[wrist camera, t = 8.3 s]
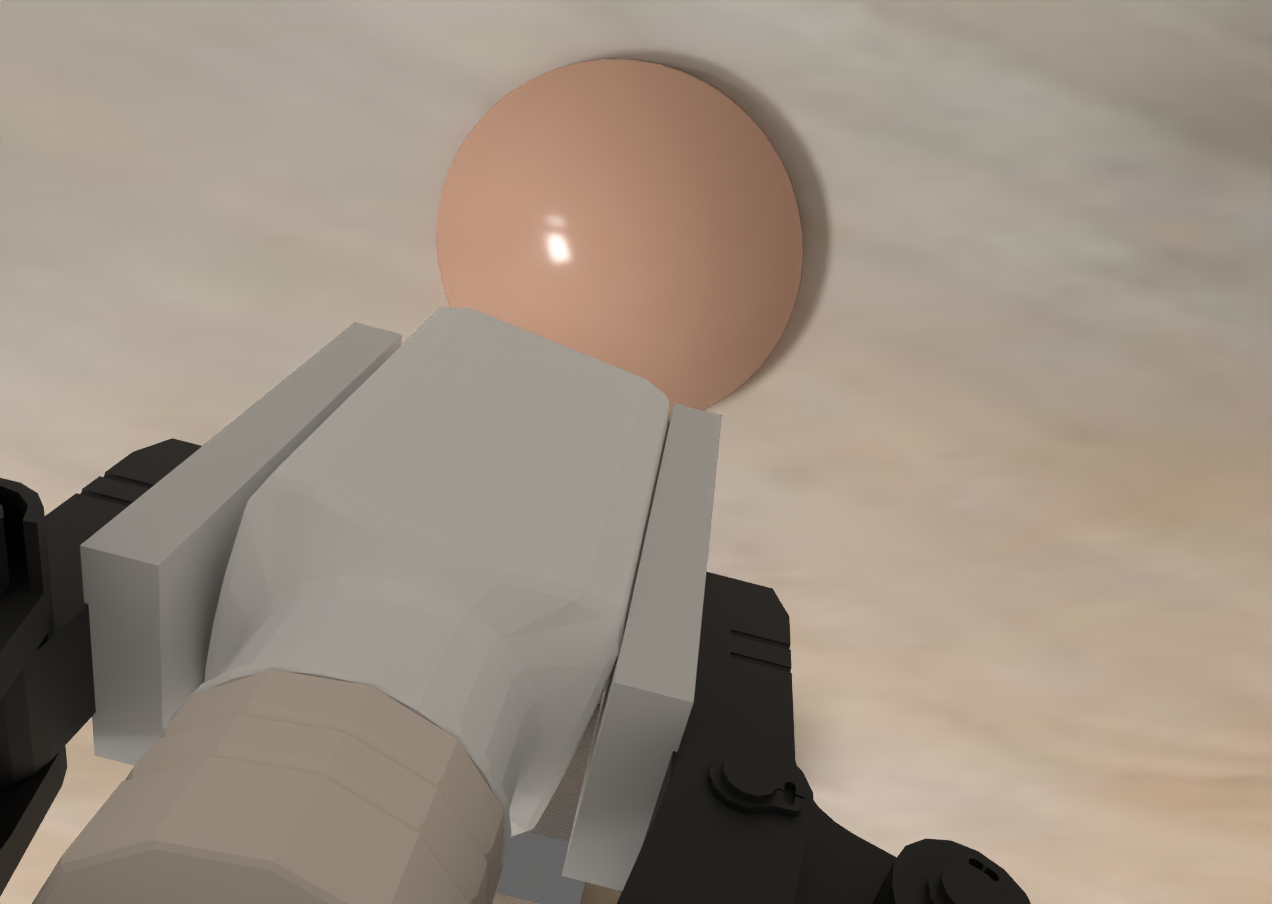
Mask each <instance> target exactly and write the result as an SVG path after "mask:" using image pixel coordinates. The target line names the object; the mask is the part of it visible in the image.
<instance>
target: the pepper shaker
mask: <svg viewBox="0 0 1272 904" xmlns="http://www.w3.org/2000/svg"><path fill="white" fill-rule="evenodd" d="M668 428H669V399H668V398H667V397H666V395H665V394H664V393H663V392H662V391H660V390H659V389H658V388H657V387H655V386H654V385H653V384H652V383H650V382H649V381H648V380H647V379H645V378H642V377H640V376H637V375H635V374H633V373H630V372H628V371H625V370H623V369H620V368H618V367H615V366H613V365H610V364H608V363H605V362H603V361H601V360H598V359H596V358H593V357H591V356H588V355H586V354H583V353H581V352H578V351H576V350H573V349H571V348H568V347H566V346H564V345H561V344H559V343H556V342H554V341H551V340H549V339H546V338H544V337H541V336H539V335H536V334H534V333H531V332H529V331H527V330H524V329H522V328H519V327H517V326H514V325H512V324H509V323H507V322H504V321H502V320H499V319H497V318H494V317H492V316H489V315H487V314H485V313H482V312H480V311H477V310H475V309H472V308H454V307H440V308H439V309H438V310H437V311H436V312H435V313H434V314H433V315H432V316H431V317H430V318H429V319H428V320H427V321H426V322H425V323H424V324H423V325H422V326H421V327H420V328H419V329H418V330H417V331H416V332H415V333H414V334H413V335H412V336H411V337H410V338H409V339H408V340H407V341H406V342H405V343H404V344H403V345H401V346H400V347H399V348H398V349H397V350H396V351H395V352H394V353H393V354H392V355H391V356H390V357H389V358H388V359H387V360H386V361H385V362H384V363H383V364H382V365H381V366H380V367H379V368H378V369H377V370H376V371H375V372H374V373H373V374H372V375H371V376H370V377H369V378H368V379H367V380H366V381H365V382H364V383H363V384H362V385H361V386H360V387H359V388H358V389H357V390H356V391H355V392H354V393H353V394H352V395H351V396H350V397H349V398H348V399H347V400H346V401H345V402H344V403H343V404H342V405H341V406H340V407H339V408H338V409H336V410H335V411H334V412H333V413H332V414H331V415H330V416H329V417H328V418H327V419H326V420H325V421H324V422H323V423H322V424H321V425H320V426H319V427H318V428H317V429H316V430H315V431H314V432H313V433H312V434H311V435H310V436H309V437H308V438H307V439H306V440H305V441H304V442H303V443H302V444H301V445H300V446H299V447H298V448H297V449H296V450H295V451H294V452H293V453H292V454H291V455H290V456H289V457H288V458H287V459H286V460H285V461H284V462H283V463H282V464H281V465H280V466H279V467H278V468H277V469H276V470H275V471H274V472H273V473H272V474H271V475H270V477H269V478H268V479H267V480H266V481H265V482H264V483H263V484H262V485H261V486H260V488H259V489H258V490H257V491H256V492H255V493H254V494H253V495H252V496H251V497H250V499H249V500H248V502H247V505H246V507H245V510H244V513H243V516H242V520H241V523H240V526H239V530H238V533H237V536H236V539H235V543H234V546H233V549H232V552H231V556H230V559H229V562H228V566H227V569H226V572H225V576H224V580H223V584H222V589H221V593H220V597H219V601H218V606H217V610H216V614H215V618H214V623H213V627H212V633H211V639H210V644H209V650H208V656H207V662H206V668H205V681H204V683H202V684H201V685H200V686H199V687H198V688H197V689H196V690H195V691H194V692H193V693H192V694H191V695H190V696H189V697H188V698H187V699H186V700H185V701H184V702H183V703H182V704H181V705H180V706H179V708H178V709H177V710H176V711H175V712H174V713H173V715H172V716H171V718H170V721H169V723H168V726H167V727H166V728H165V730H164V731H163V733H162V734H161V736H160V737H159V739H158V740H155V742H154V743H153V744H152V745H151V747H150V748H149V749H148V750H147V752H146V753H145V754H144V755H143V756H142V758H141V759H140V760H139V761H138V763H137V764H136V765H135V766H134V768H133V769H132V771H131V772H130V774H129V775H128V777H127V778H126V780H125V781H123V782H121V784H120V785H119V786H118V787H117V789H116V790H115V791H114V792H113V794H112V795H111V796H110V797H109V798H108V800H107V801H106V802H105V803H104V805H103V806H102V807H101V808H100V810H99V811H98V812H97V813H96V814H95V816H94V817H93V818H92V819H91V821H90V822H89V823H88V824H87V826H86V827H85V828H84V829H83V831H82V832H81V833H80V834H79V835H78V837H77V838H76V839H75V840H74V842H73V843H72V844H71V845H70V847H69V848H68V849H67V850H66V852H65V853H64V854H63V855H62V857H61V858H60V860H59V862H58V863H57V865H56V866H55V868H54V870H53V871H52V873H51V874H50V876H49V877H48V879H47V881H46V882H45V884H44V885H43V887H42V888H41V890H40V892H39V893H38V895H37V896H36V898H35V900H34V901H33V903H32V904H492V903H493V899H494V896H495V893H496V889H497V886H498V882H499V879H500V873H501V872H502V868H503V865H504V861H505V857H506V853H507V849H508V845H509V841H510V837H512V836H515V835H518V834H521V833H523V832H526V831H529V830H531V829H534V827H535V826H536V824H537V823H538V821H539V819H540V817H541V816H542V814H543V812H544V810H545V809H546V807H547V805H548V803H549V801H550V800H551V798H552V796H553V794H554V793H555V791H556V789H557V787H558V785H559V783H560V781H561V779H562V777H563V775H564V773H565V771H566V770H567V768H568V766H569V764H570V762H571V760H572V758H573V756H574V754H575V752H576V750H577V748H578V745H579V743H580V741H581V739H582V737H583V735H584V733H585V730H586V728H587V726H588V724H589V722H590V720H591V718H592V715H593V713H594V711H595V709H596V707H597V705H598V702H599V700H600V698H601V695H602V693H603V691H604V688H605V686H606V684H607V682H608V679H609V677H610V675H611V672H612V670H613V668H614V666H615V663H616V661H617V658H618V655H619V652H620V648H621V644H622V639H623V635H624V631H625V626H626V622H627V617H628V612H629V608H630V603H631V599H632V594H633V589H634V585H635V580H636V576H637V571H638V566H639V562H640V557H641V552H642V548H643V543H644V539H645V534H646V529H647V525H648V520H649V516H650V511H651V506H652V502H653V497H654V492H655V488H656V483H657V479H658V474H659V469H660V465H661V460H662V456H663V451H664V446H665V442H666V437H667V433H668Z"/></svg>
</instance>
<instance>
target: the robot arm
mask: <svg viewBox="0 0 1272 904" xmlns="http://www.w3.org/2000/svg"><path fill="white" fill-rule="evenodd" d="M401 337H402V334H398V333H394V332H390V331H386V330H382V329H379V328H375V327H371V326H367V325H363V324H359V323H354V324H352V325H351V326H350V327H349V328H347V329H346V330H345V331H344V332H343V333H341V334H340V335H339V336H338V337H336V338H335V339H334V340H333V341H331V342H330V343H329V344H328V345H327V346H325V347H324V348H323V349H322V350H320V351H319V352H318V353H317V354H315V355H314V356H313V357H312V358H310V359H309V360H308V361H307V362H306V363H304V364H303V365H302V366H301V367H299V368H298V369H297V370H296V371H294V372H293V373H292V374H291V375H290V376H288V377H287V378H286V379H285V380H283V381H282V382H281V383H280V384H278V385H277V386H276V387H275V388H274V389H272V390H271V391H270V392H269V393H267V394H266V395H265V396H264V397H262V398H261V399H260V400H259V401H257V402H256V403H255V404H254V405H253V406H251V407H250V408H249V409H248V410H246V411H245V412H244V413H243V414H241V415H240V416H239V417H238V418H237V419H235V420H234V421H233V422H232V423H230V424H229V425H228V426H227V427H225V428H224V429H223V430H222V431H221V432H219V433H218V434H217V435H216V436H214V437H213V438H212V439H211V440H209V441H208V442H207V443H206V444H204V445H203V446H200V445H196V444H192V443H188V442H184V441H180V440H176V439H169V440H166V441H163V442H160V443H158V444H155V445H152V446H149V447H146V448H143V449H140V450H137V451H134V452H132V453H131V454H130V455H128V456H127V457H125V458H124V459H123V460H121V461H120V462H119V463H117V464H116V465H114V466H113V467H112V468H110V469H109V470H108V471H106V472H105V475H104V477H100V476H99V477H98V478H97V479H95V480H94V481H93V482H91V483H90V484H88V485H87V486H86V487H84V488H83V489H82V492H81V494H77V493H76V494H75V495H73V496H72V497H71V498H69V499H68V500H67V501H65V502H64V503H62V504H61V505H60V506H58V507H57V508H56V509H54V510H53V511H52V512H50V513H49V514H47V515H46V516H44V507H43V505H42V502H41V500H40V498H39V495H38V493H36V492H35V491H33V490H31V489H30V488H28V487H27V486H25V485H23V484H22V483H19V482H15V481H11V480H7V479H3V478H0V896H1V894H2V893H3V891H4V889H5V887H6V885H7V884H8V882H9V880H10V878H11V876H12V875H13V873H14V871H15V869H16V867H17V866H18V864H19V862H20V860H21V858H22V857H23V855H24V853H25V851H26V849H27V848H28V846H29V844H30V842H31V840H32V839H33V837H34V835H35V833H36V831H37V830H38V828H39V826H40V824H41V822H42V821H43V819H44V817H45V815H46V813H47V812H48V810H49V808H50V806H51V804H52V803H53V801H54V799H55V797H56V795H57V794H58V792H59V790H60V788H61V786H62V784H63V780H64V777H65V773H66V770H67V759H66V748H65V745H66V744H67V743H68V742H69V741H70V740H71V738H72V737H73V736H74V735H75V734H76V733H77V732H78V731H79V730H80V729H81V728H82V727H83V725H84V724H85V723H86V722H87V721H88V720H89V719H90V718H91V717H92V721H93V735H94V749H95V755H96V756H100V757H104V758H108V759H112V760H116V761H120V762H123V763H127V764H131V765H136V764H137V763H138V761H139V760H140V759H141V758H142V756H143V755H144V754H145V753H146V752H147V750H148V749H149V748H150V747H151V745H152V744H153V743H154V742H155V740H158V739H159V737H160V736H161V734H162V733H163V731H164V730H165V728H166V727H167V726H168V723H169V721H170V718H171V716H172V715H173V713H174V712H175V711H176V710H177V709H178V708H179V706H180V705H181V704H182V703H183V702H184V701H185V700H186V699H187V698H188V697H189V696H190V695H191V694H192V693H193V692H194V691H195V690H196V689H197V688H198V687H199V686H200V685H201V684H202V683H204V681H205V668H206V662H207V656H208V650H209V644H210V639H211V633H212V627H213V623H214V618H215V614H216V610H217V606H218V601H219V597H220V593H221V589H222V584H223V580H224V576H225V572H226V569H227V566H228V562H229V559H230V556H231V552H232V549H233V546H234V543H235V539H236V536H237V533H238V530H239V526H240V523H241V520H242V516H243V513H244V510H245V507H246V505H247V502H248V500H249V499H250V497H251V496H252V495H253V494H254V493H255V492H256V491H257V490H258V489H259V488H260V486H261V485H262V484H263V483H264V482H265V481H266V480H267V479H268V478H269V477H270V475H271V474H272V473H273V472H274V471H275V470H276V469H277V468H278V467H279V466H280V465H281V464H282V463H283V462H284V461H285V460H286V459H287V458H288V457H289V456H290V455H291V454H292V453H293V452H294V451H295V450H296V449H297V448H298V447H299V446H300V445H301V444H302V443H303V442H304V441H305V440H306V439H307V438H308V437H309V436H310V435H311V434H312V433H313V432H314V431H315V430H316V429H317V428H318V427H319V426H320V425H321V424H322V423H323V422H324V421H325V420H326V419H327V418H328V417H329V416H330V415H331V414H332V413H333V412H334V411H335V410H336V409H338V408H339V407H340V406H341V405H342V404H343V403H344V402H345V401H346V400H347V399H348V398H349V397H350V396H351V395H352V394H353V393H354V392H355V391H356V390H357V389H358V388H359V387H360V386H361V385H362V384H363V383H364V382H365V381H366V380H367V379H368V378H369V377H370V376H371V375H372V374H373V373H374V372H375V371H376V370H377V369H378V368H379V367H380V366H381V365H382V364H383V363H384V362H385V361H386V360H387V359H388V358H389V357H390V356H391V355H392V354H393V353H394V352H395V351H396V350H397V349H398V348H399V347H400V346H401ZM721 418H722V415H718V414H714V413H711V412H707V411H703V410H699V409H695V408H691V407H687V406H683V405H679V404H675V403H674V407H673V411H672V414H671V418H670V422H669V428H668V433H667V437H666V442H665V446H664V451H663V456H662V460H661V465H660V469H659V474H658V479H657V483H656V488H655V492H654V497H653V502H652V506H651V511H650V516H649V520H648V525H647V529H646V534H645V539H644V543H643V548H642V552H641V557H640V562H639V566H638V571H637V576H636V580H635V585H634V589H633V594H632V599H631V603H630V608H629V612H628V617H627V622H626V626H625V631H624V635H623V639H622V644H621V648H620V652H619V655H618V658H617V661H616V663H615V666H614V668H613V670H612V672H611V675H610V677H609V679H608V682H607V684H606V686H605V688H604V692H603V697H602V701H601V705H600V710H599V714H598V719H597V723H596V727H595V732H594V736H593V741H592V745H591V749H590V754H589V758H588V762H587V767H586V771H585V776H584V780H583V784H582V789H581V793H580V797H579V802H578V806H577V811H576V815H575V819H574V824H573V828H572V833H571V837H570V841H569V846H568V850H567V854H566V859H565V863H564V868H563V872H562V876H564V877H568V878H572V879H576V880H580V881H583V882H587V883H591V884H595V885H599V886H603V887H607V888H610V889H614V890H618V891H622V893H621V896H620V898H619V900H618V902H617V904H1031V903H1030V901H1029V899H1028V897H1027V895H1026V893H1025V892H1024V891H1023V890H1022V889H1021V888H1020V887H1019V886H1018V884H1017V883H1016V882H1015V881H1014V880H1013V879H1012V878H1011V877H1010V875H1009V874H1008V873H1007V872H1006V871H1005V870H1004V869H1003V868H1001V867H1000V866H998V865H997V864H995V863H994V862H993V861H991V860H990V859H988V858H987V857H985V856H984V855H983V854H981V853H980V852H978V851H976V850H973V849H971V848H968V847H966V846H963V845H961V844H958V843H956V842H953V841H949V840H936V839H923V840H921V841H918V842H915V843H912V844H910V845H907V846H905V847H904V849H903V850H902V852H901V853H900V854H899V856H898V857H895V856H893V855H891V854H889V853H887V852H886V851H884V850H882V849H880V848H878V847H876V846H874V845H873V844H871V843H869V842H867V841H865V840H863V839H862V838H860V837H858V836H856V835H854V834H853V833H851V832H850V831H848V830H847V829H845V828H843V827H842V826H840V825H839V824H837V823H836V822H834V821H833V820H832V819H831V818H830V817H829V816H828V815H827V814H826V813H825V812H823V811H822V810H821V809H820V808H819V807H818V806H817V804H816V803H815V802H814V800H813V792H812V790H811V788H810V786H809V784H808V782H807V780H806V778H805V775H804V773H803V772H802V770H801V769H800V768H799V767H798V766H797V765H796V761H795V743H794V719H793V695H792V673H790V671H791V650H789V648H790V623H789V615H788V614H787V612H786V610H785V609H784V607H783V605H782V604H781V602H780V600H779V599H778V597H777V595H776V594H775V592H774V590H773V589H772V588H768V587H764V586H760V585H756V584H752V583H748V582H745V581H741V580H737V579H733V578H729V577H725V576H721V575H717V574H713V573H709V572H706V570H707V560H708V550H709V540H710V530H711V519H712V509H713V499H714V489H715V479H716V468H717V458H718V448H719V438H720V428H721Z"/></svg>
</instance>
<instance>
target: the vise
mask: <svg viewBox="0 0 1272 904" xmlns="http://www.w3.org/2000/svg"><path fill="white" fill-rule="evenodd" d="M599 710H600V705H597V707H596V709H595V711H594V713H593V715H592V718H591V720H590V722H589V724H588V726H587V728H586V730H585V733H584V735H583V737H582V739H581V741H580V743H579V745H578V748H577V750H576V752H575V754H574V756H573V758H572V760H571V762H570V764H569V766H568V768H567V770H566V771H565V773H564V775H563V777H562V779H561V781H560V783H559V785H558V787H557V789H556V791H555V793H554V794H553V796H552V798H551V800H550V801H549V803H548V805H547V807H546V809H545V810H544V812H543V814H542V816H541V817H540V819H539V821H538V823H537V824H536V826H535V827H534V829H531V830H529V831H526V832H523V833H521V834H518V835H515V836H512V837H510V841H509V845H508V849H507V853H506V857H505V861H504V865H503V868H502V872H501V873H500V879H499V882H498V886H497V889H496V893H495V896H494V899H493V903H492V904H580V901H581V897H582V894H583V891H584V887H585V884H586V882H583V881H580V880H576V879H572V878H568V877H564V876H562V872H563V868H564V863H565V859H566V854H567V850H568V846H569V841H570V837H571V833H572V828H573V824H574V819H575V815H576V811H577V806H578V802H579V797H580V793H581V789H582V784H583V780H584V776H585V771H586V767H587V762H588V758H589V754H590V749H591V745H592V741H593V736H594V732H595V727H596V723H597V719H598V714H599Z"/></svg>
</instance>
